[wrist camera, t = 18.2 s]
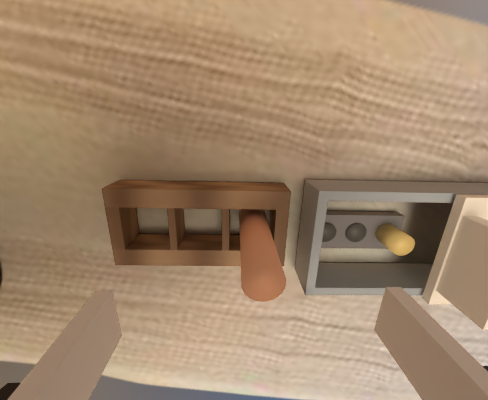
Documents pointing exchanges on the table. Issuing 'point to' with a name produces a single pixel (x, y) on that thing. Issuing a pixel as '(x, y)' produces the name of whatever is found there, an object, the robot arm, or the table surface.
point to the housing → (365, 234)
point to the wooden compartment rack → (175, 199)
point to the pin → (259, 257)
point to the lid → (463, 261)
